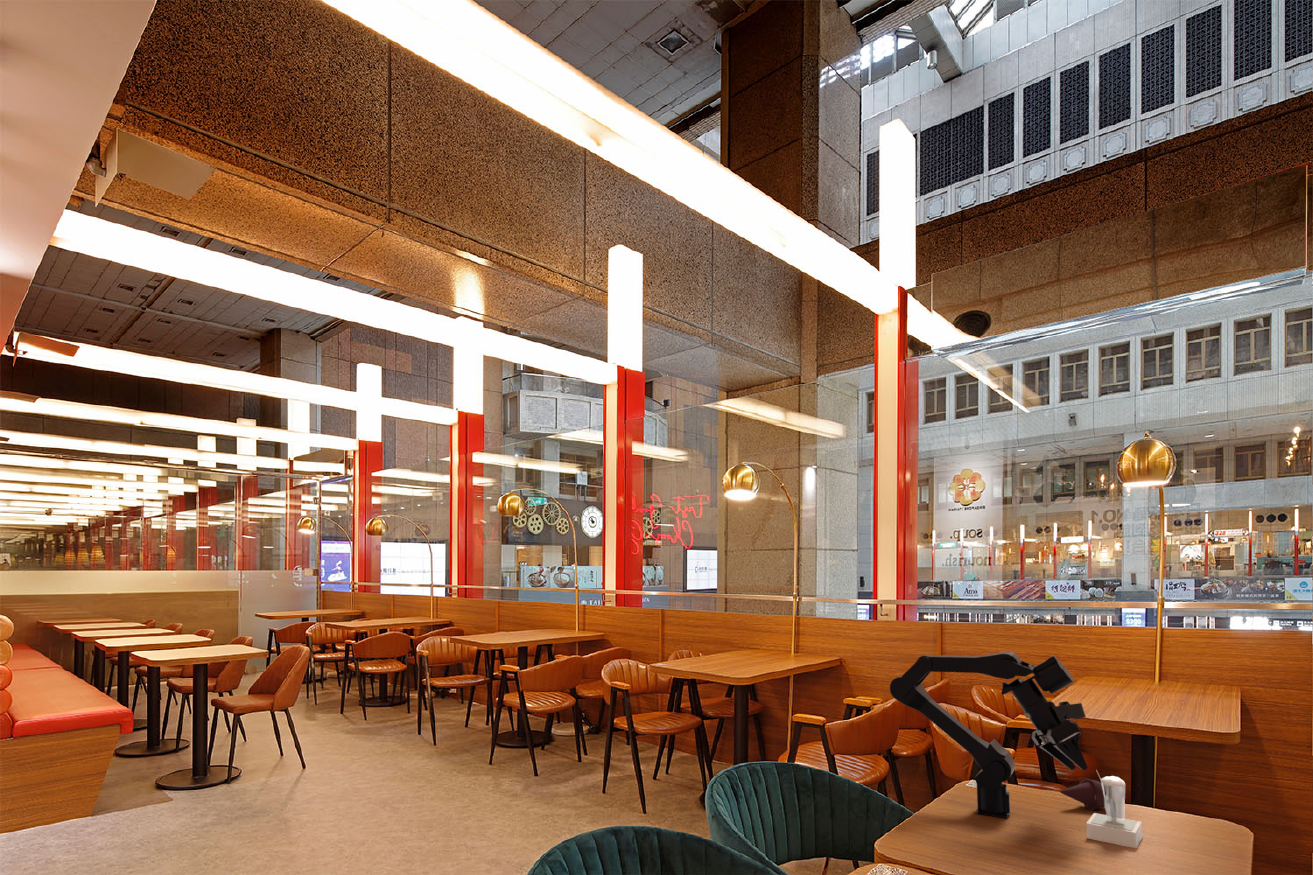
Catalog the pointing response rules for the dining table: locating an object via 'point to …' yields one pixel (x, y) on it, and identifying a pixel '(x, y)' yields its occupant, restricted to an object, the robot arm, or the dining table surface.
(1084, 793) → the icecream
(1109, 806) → the milkshake
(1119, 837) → the tile base
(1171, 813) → the dining table surface
